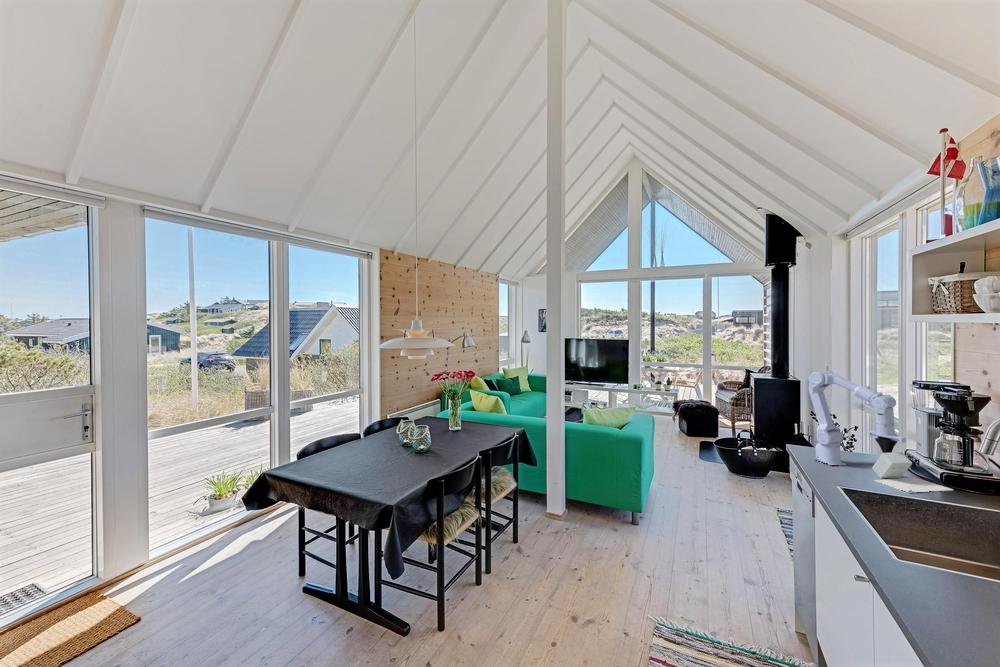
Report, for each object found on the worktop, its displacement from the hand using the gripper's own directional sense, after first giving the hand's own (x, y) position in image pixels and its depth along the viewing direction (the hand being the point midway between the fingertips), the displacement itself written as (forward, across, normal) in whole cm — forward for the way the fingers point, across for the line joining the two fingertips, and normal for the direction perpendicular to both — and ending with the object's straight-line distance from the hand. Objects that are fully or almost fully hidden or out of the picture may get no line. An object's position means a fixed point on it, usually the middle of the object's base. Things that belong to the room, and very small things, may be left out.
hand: (887, 455), depth 172 cm
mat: (+10, -10, 0) cm, 13 cm away
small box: (+8, +1, 0) cm, 8 cm away
